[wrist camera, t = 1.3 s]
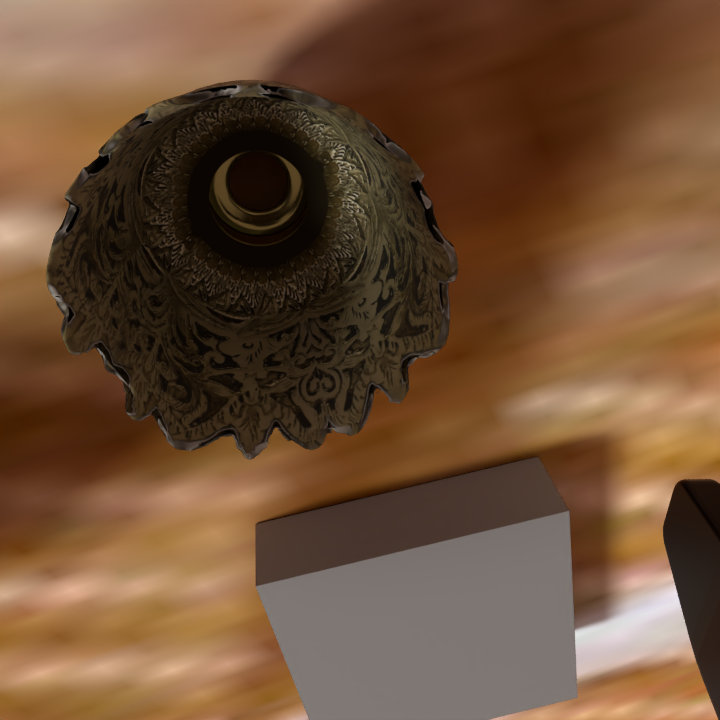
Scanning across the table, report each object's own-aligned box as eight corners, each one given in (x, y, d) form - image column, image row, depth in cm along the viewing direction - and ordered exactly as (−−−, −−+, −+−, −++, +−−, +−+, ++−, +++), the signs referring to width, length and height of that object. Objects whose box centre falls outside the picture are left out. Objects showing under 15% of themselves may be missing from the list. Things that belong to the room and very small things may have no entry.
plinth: (319, 694, 32) (325, 759, 29) (255, 524, 26) (255, 586, 23) (551, 637, 32) (577, 697, 29) (538, 456, 26) (569, 510, 24)
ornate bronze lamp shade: (65, 113, 18) (-52, 208, 11) (320, -15, 17) (364, 3, 10) (208, 337, 22) (187, 511, 15) (422, 240, 21) (503, 375, 14)
